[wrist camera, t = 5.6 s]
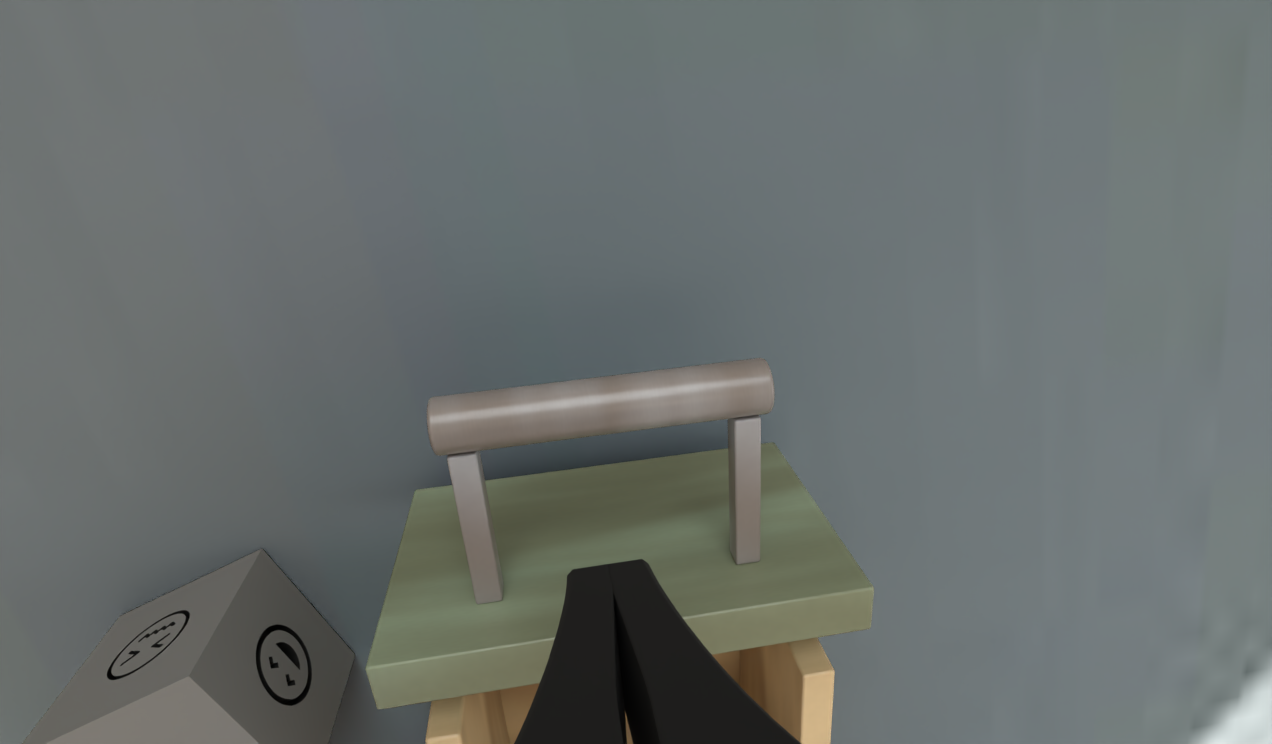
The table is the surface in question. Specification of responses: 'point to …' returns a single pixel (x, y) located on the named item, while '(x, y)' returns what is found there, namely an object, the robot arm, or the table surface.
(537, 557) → the drawer
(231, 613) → the dice cube
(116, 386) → the table surface
